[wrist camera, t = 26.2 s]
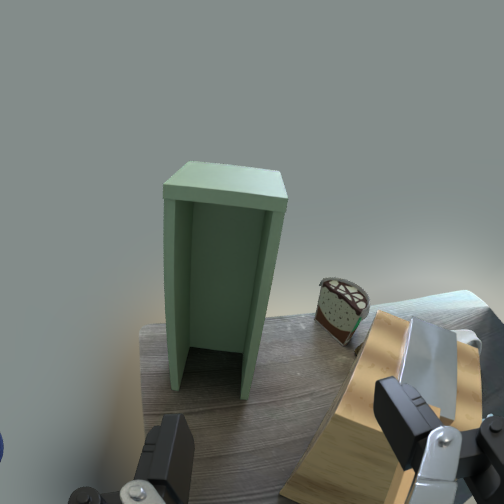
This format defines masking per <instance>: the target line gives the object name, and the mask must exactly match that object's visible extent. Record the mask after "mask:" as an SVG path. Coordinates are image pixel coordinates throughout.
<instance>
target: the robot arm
mask: <svg viewBox="0 0 504 504" xmlns="http://www.w3.org/2000/svg"><path fill="white" fill-rule="evenodd" d="M373 411H374V415H375V418H376V420H377V422H378V424H379V426H380V428H381V429H382V431H383V433H384V435H385V437H386V439H387V441H388V442H389V444H390V446H391V448H392V450H393V452H394V454H395V456H396V458H397V459H398V461H399V463H400V465H401V467H402V469H403V471H407V470H409V469H412V468H413V470H414V472H415V474H414V477H413V480H412V483H411V486H410V489H409V492H408V494H407V497H406V500H405V502H404V504H453V502H454V498H455V494H456V489H457V481H455V479H459V478H464V480H465V482H466V484H467V486H468V487H469V489H470V491H471V493H472V495H473V497H474V499H475V500H476V502H477V504H504V417H501V416H490V417H487V418H486V419H485V420H483V422H482V423H481V425H480V428H476V429H471V430H466V431H459V430H458V429H456V428H455V427H452V426H445V425H444V424H443V423H442V422H441V420H440V419H439V418H438V417H437V415H436V414H435V413H434V411H433V410H432V409H431V407H430V406H429V405H428V404H427V403H426V401H425V400H424V398H423V397H422V396H421V395H420V393H419V392H418V391H417V389H416V388H414V387H412V386H411V385H409V384H407V383H405V384H402V385H400V383H399V382H398V381H397V379H396V378H395V377H394V376H389V377H386V378H383V379H379V380H376V382H375V391H374V402H373ZM194 450H195V445H194V439H193V436H192V434H191V431H190V429H189V427H188V424H187V422H186V420H185V417H184V415H183V414H165V415H164V416H163V419H162V423H161V426H154V427H153V428H152V429H151V430H150V432H149V433H148V434H147V437H146V440H145V445H144V446H143V450H142V453H141V456H140V460H139V463H138V466H137V470H136V473H135V477H134V480H133V481H130V482H128V483H127V484H125V485H124V486H123V487H122V489H121V491H117V492H111V493H104V494H99V493H98V491H97V490H95V489H94V488H91V487H81V488H78V489H76V490H75V491H74V492H73V493H72V494H71V496H70V498H69V501H68V504H188V499H189V490H190V482H191V474H192V466H193V458H194Z"/></svg>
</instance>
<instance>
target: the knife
mask: <svg viewBox="0 0 504 504" xmlns="http://www.w3.org/2000/svg"><path fill="white" fill-rule="evenodd" d="M397 381H398V382H399V383H400V385H402V384H405V383H407V384H409V385H411V386H412V387H414V388H416V389H417V391H418V392H419V393H420V395H421V396H422V397H423V398H424V400H425V401H426V403H427V404H428V405H429V406H430V407H431V409H432V410H433V411H434V413H435V414H436V415H437V417H438V418H439V419H440V420H441V422H442V423H443V424H444V425H445V426H450V425H451V424H452V423H453V422H454V420H455V411H456V395H457V334H456V333H455V332H452V331H450V330H447V329H445V328H442V327H440V326H437V325H434V324H432V323H429V322H427V321H424V320H422V319H419V318H417V317H414V316H412V318H411V320H410V322H409V328H408V333H407V339H406V344H405V349H404V353H403V358H402V362H401V367H400V371H399V375H398V379H397ZM414 474H415V472H414V470H413V468H412V469H409V470H407V471H403V469H402V467H401V465H400V463H399V461H398V464H397V468H396V471H395V474H394V477H393V480H392V483H391V486H390V488H389V491H388V494H387V497H386V499H385V502H384V504H404V502H405V500H406V497H407V494H408V492H409V489H410V486H411V483H412V480H413V477H414Z"/></svg>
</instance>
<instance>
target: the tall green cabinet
mask: <svg viewBox="0 0 504 504" xmlns="http://www.w3.org/2000/svg"><path fill="white" fill-rule="evenodd" d="M163 199H164V289H165V290H164V291H165V314H166V331H167V346H168V359H169V370H170V380H171V390H175V391H179V388H180V384H181V380H182V376H183V371H184V367H185V363H186V359H187V355H188V351H189V347H197V348H204V349H211V350H219V351H227V352H236V353H243V361H242V378H241V395H240V399H244V400H248V397H249V392H250V388H251V383H252V379H253V374H254V369H255V364H256V360H257V355H258V350H259V345H260V340H261V335H262V330H263V325H264V321H265V315H266V310H267V305H268V300H269V295H270V290H271V285H272V280H273V274H274V269H275V264H276V259H277V253H278V248H279V242H280V236H281V231H282V225H283V220H284V215H285V212H286V208H287V202H288V197H287V193H286V190H285V187H284V184H283V180H282V177H281V174H280V172H279V171H274V170H267V169H259V168H251V167H243V166H235V165H226V164H216V163H206V162H195V161H189V162H188V163H187V164H185V165H184V166H183V167H182V168H181V169H180V170H179V171H177V172H176V173H175V174H174V175H173V176H172V177H171V178H170V179H168V180H167V181H166V182H165V183H164V184H163Z"/></svg>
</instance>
